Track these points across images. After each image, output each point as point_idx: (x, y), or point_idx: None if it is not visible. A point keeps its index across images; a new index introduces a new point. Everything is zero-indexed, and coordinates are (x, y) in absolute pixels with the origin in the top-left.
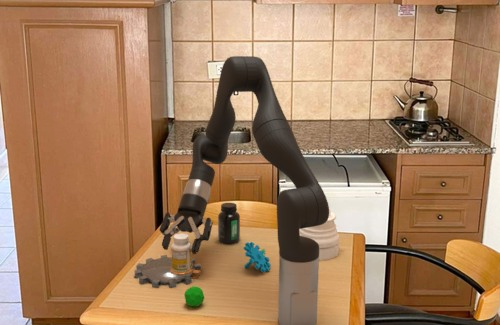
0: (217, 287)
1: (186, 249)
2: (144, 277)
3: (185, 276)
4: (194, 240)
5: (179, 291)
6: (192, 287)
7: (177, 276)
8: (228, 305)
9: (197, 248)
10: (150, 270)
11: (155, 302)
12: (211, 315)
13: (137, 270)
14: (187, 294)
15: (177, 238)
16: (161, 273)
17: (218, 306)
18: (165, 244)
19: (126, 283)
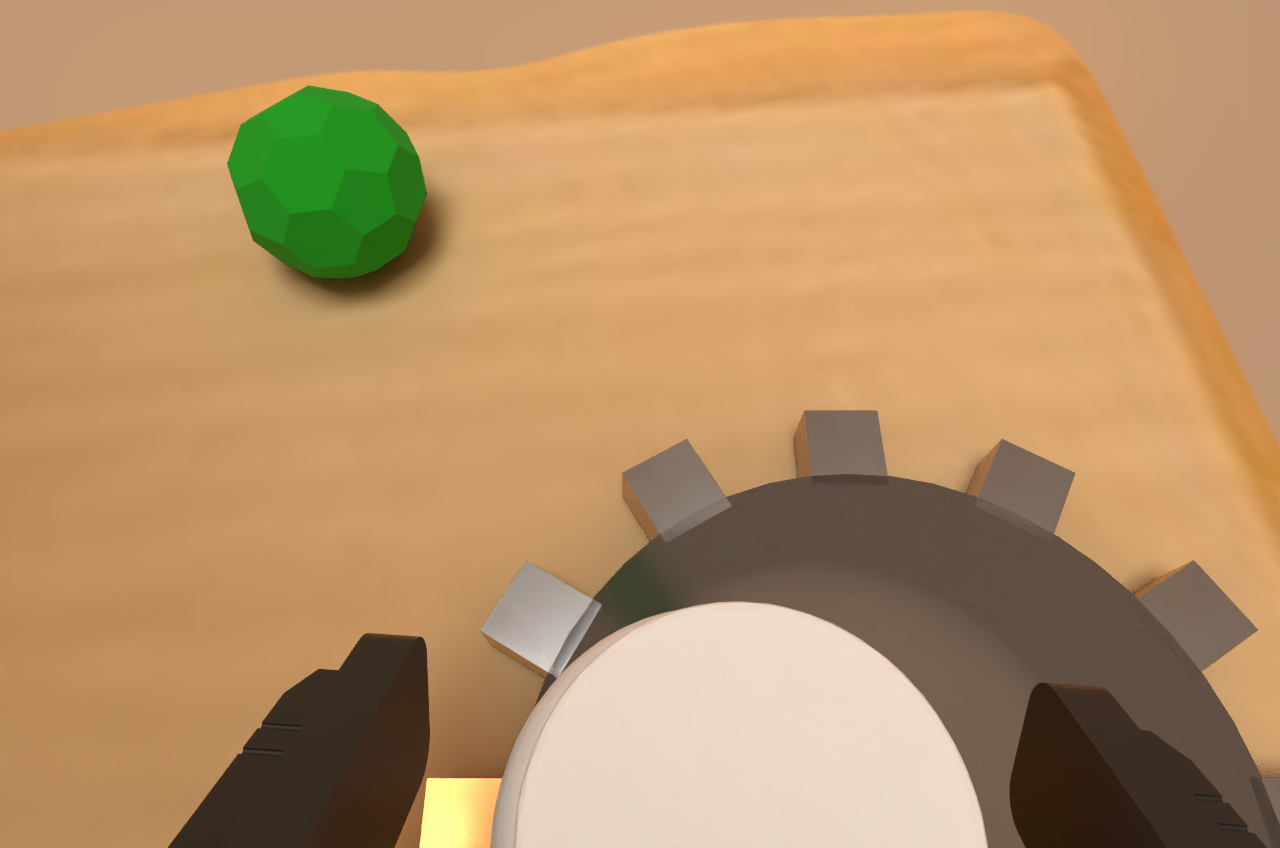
0: (176, 602)
1: (544, 694)
2: (1015, 484)
3: (564, 630)
4: (308, 808)
5: (560, 421)
6: (316, 117)
7: (661, 604)
8: (58, 298)
9: (279, 715)
10: (1072, 684)
11: (689, 210)
12: (198, 147)
13: (1223, 639)
14: (367, 100)
15: (773, 617)
16: (889, 633)
17: (148, 266)
18: (1069, 708)
19: (1148, 445)
